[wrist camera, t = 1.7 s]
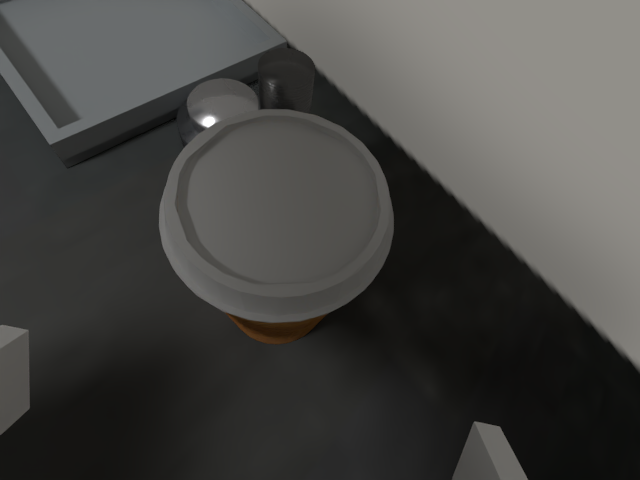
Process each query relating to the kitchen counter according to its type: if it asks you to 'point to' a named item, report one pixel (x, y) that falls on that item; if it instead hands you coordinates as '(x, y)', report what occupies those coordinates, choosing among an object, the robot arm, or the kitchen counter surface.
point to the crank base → (188, 124)
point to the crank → (274, 90)
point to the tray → (121, 62)
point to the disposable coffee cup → (276, 220)
